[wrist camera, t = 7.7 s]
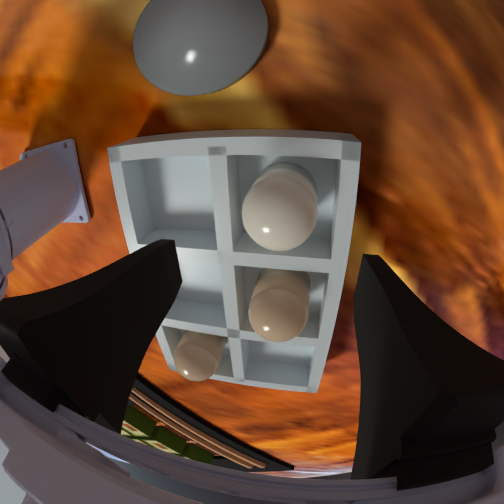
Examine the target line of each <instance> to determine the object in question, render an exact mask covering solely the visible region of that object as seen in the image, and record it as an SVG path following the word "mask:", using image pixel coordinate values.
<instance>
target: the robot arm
mask: <svg viewBox="0 0 504 504" xmlns="http://www.w3.org/2000/svg"><path fill="white" fill-rule="evenodd" d="M66 144H67V145H66ZM82 217H83V218H82ZM90 220H91V217H90V213H89V209H88V205H87V201H86V196H85V192H84V188H83V183H82V178H81V174H80V168H79V163H78V158H77V152H76V146H75V141H74V140H73V139H72V138H70V139H66V140H63V141H59V142H56V143H52V144H49V145H45V146H42V147H39V148H36V149H32V150H29V151H26V152H23V153H21V154H20V161H19V162H17V163H15V164H12V165H10V166H8V167H6V168H4V169H2V170H0V345H1V347H2V348H3V349H4V351H5V352H6V354H7V355H8V356H9V358H11V359H10V360H9V361H8V363H6V362H5V361H4V360H3V359H2V358H1V357H0V440H1V441H2V442H3V443H4V445H5V446H6V447H7V448H8V449H9V452H8V454H7V456H6V458H5V460H4V462H3V464H2V465H3V467H4V470H5V472H6V473H7V474H8V475H9V476H10V477H11V479H12V480H13V481H14V482H15V483H16V484H17V485H18V486H19V487H20V488H22V489H23V490H24V491H25V492H26V496H25V498H24V500H23V502H22V504H204V503H201V502H197V501H194V500H191V499H188V498H184V497H181V496H178V495H175V494H172V493H169V492H167V491H164V490H161V489H159V488H156V487H153V486H151V485H148V484H146V483H143V482H141V481H138V480H136V479H134V478H131V477H129V476H130V473H129V472H128V471H126V470H124V469H123V468H121V467H120V466H118V465H116V464H115V463H114V462H112V461H111V460H109V459H108V458H107V457H105V456H104V455H103V454H102V453H101V452H100V451H98V450H96V449H95V448H93V447H91V446H90V445H88V444H86V442H88V443H90V444H92V445H94V446H95V447H97V448H99V449H101V450H103V451H105V452H107V453H109V454H111V455H114V456H116V457H118V458H120V459H122V460H124V461H127V462H129V463H131V464H134V465H136V466H139V467H141V468H144V469H146V470H149V471H151V472H154V473H157V474H159V475H162V476H165V477H168V478H171V479H174V480H177V481H180V482H183V483H187V484H190V485H194V486H197V487H201V488H205V489H210V490H213V491H217V492H221V493H226V494H231V495H236V496H241V497H247V498H253V499H259V500H267V501H275V502H284V503H296V504H504V445H502V446H499V447H498V448H496V449H494V450H492V445H491V442H493V441H494V440H495V439H496V433H495V428H496V427H497V426H498V425H499V424H501V423H502V422H503V421H504V360H502V359H500V358H498V357H496V356H494V355H492V354H491V353H489V352H487V351H486V350H484V349H482V348H481V347H479V346H477V345H476V344H474V343H473V342H471V341H470V340H468V339H467V338H465V337H464V336H463V335H461V334H460V333H459V332H457V331H456V330H455V329H453V328H452V327H451V326H449V325H448V324H447V323H446V322H444V321H443V320H442V319H441V318H440V317H439V316H437V315H436V314H435V313H434V312H433V311H432V310H431V309H430V308H428V307H427V306H426V305H425V304H424V303H423V302H422V301H421V300H420V299H419V298H418V297H417V296H416V295H415V294H414V293H413V292H412V291H411V290H410V289H409V288H408V286H407V285H406V284H405V283H404V282H403V281H402V280H401V279H400V278H399V277H398V276H397V274H396V273H395V272H394V271H393V270H392V269H391V268H390V267H389V265H388V264H387V263H386V262H385V261H384V260H383V259H382V258H381V257H380V256H379V255H369V254H363V256H362V261H361V266H360V271H359V276H358V281H357V285H356V289H355V294H354V324H355V332H356V339H357V347H358V355H359V363H360V374H361V395H360V414H359V427H358V435H357V444H356V451H355V457H354V463H353V468H352V474H351V478H350V480H316V479H300V478H288V477H278V476H270V475H262V474H256V473H250V472H244V471H238V470H233V469H228V468H223V467H219V466H214V465H210V464H206V463H202V462H198V461H195V460H191V459H188V458H184V457H181V456H177V455H174V454H171V453H168V452H165V451H162V450H159V449H156V448H153V447H151V446H148V445H145V444H142V443H140V442H137V441H135V440H132V439H130V438H127V437H125V436H123V435H121V430H122V425H123V421H124V416H125V412H126V408H127V404H128V401H129V397H130V394H131V390H132V387H133V384H134V381H135V379H136V376H137V373H138V370H139V368H140V365H141V363H142V360H143V358H144V355H145V353H146V351H147V349H148V347H149V345H150V343H151V341H152V339H153V337H154V336H155V334H156V332H157V331H158V329H159V327H160V325H161V324H162V322H163V320H164V319H165V317H166V315H167V314H168V312H169V310H170V308H171V307H172V305H173V303H174V301H175V299H176V297H177V294H178V292H179V289H180V287H181V284H182V282H183V281H182V276H181V271H180V266H179V261H178V256H177V251H176V245H175V240H170V239H160V240H157V241H155V242H152V243H150V244H148V245H146V246H144V247H142V248H140V249H138V250H136V251H134V252H133V253H131V254H129V255H127V256H125V257H123V258H121V259H119V260H118V261H116V262H114V263H112V264H110V265H108V266H106V267H104V268H102V269H100V270H98V271H96V272H93V273H91V274H89V275H87V276H84V277H82V278H80V279H77V280H75V281H72V282H69V283H66V284H63V285H60V286H57V287H54V288H51V289H48V290H44V291H40V292H36V293H32V294H27V295H22V296H16V297H9V298H4V299H2V298H3V296H4V294H5V291H6V289H7V286H8V279H7V275H8V274H9V273H10V272H11V271H12V270H13V269H14V267H13V265H12V260H14V259H15V258H16V257H17V256H18V255H20V254H21V253H22V252H23V251H24V250H26V249H27V248H28V247H29V246H31V245H32V244H33V243H34V242H36V241H37V240H38V239H40V238H41V237H42V236H44V235H45V234H46V233H48V232H49V231H50V230H52V229H53V228H54V227H56V226H57V225H59V224H60V223H61V222H74V223H88V222H89V221H90ZM85 441H86V442H85Z"/></svg>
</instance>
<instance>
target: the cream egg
mask: <svg viewBox="0 0 504 504" xmlns="http://www.w3.org/2000/svg"><path fill="white" fill-rule="evenodd" d="M317 216H318V202H317V186H316V183H315V181H314V179H313V177H312V176H311V175H310V174H309V172H307V171H306V170H305V169H304V168H302V167H300V166H299V165H296V164H293V163H287V162H282V163H276V164H273V165H271V166H269V167H267V168H266V169H264V170H263V171H262V172H261V173H260V175H259V176H258V178H257V179H256V181H255V182H254V184H253V185H252V187H251V188H250V190H249V191H248V193H247V194H246V197H245V199H244V201H243V205H242V221H243V224H244V227H245V230H246V231H247V233H248V235H249V236H250V237H251V238H252V239H253V240H254V241H255V242H256V243H257V244H259V245H260V246H262V247H264V248H266V249H269V250H274V251H286V250H290V249H293V248H296V247H298V246H300V245H301V244H303V243H304V242H305V241H306V240H307V239H308V238H309V237H310V235H311V234H312V232H313V230H314V228H315V226H316V222H317Z"/></svg>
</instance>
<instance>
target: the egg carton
mask: <svg viewBox="0 0 504 504" xmlns="http://www.w3.org/2000/svg"><path fill="white" fill-rule="evenodd" d="M107 150H108V157H109V163H110V169H111V174H112V180H113V185H114V190H115V195H116V200H117V204H118V209H119V213H120V218H121V222H122V226H123V230H124V234H125V238H126V242H127V246H128V249H129V253H130V254H131V253H133V252H134V251H136V250H138V249H140V248H142V247H144V246H146V245H148V244H150V243H152V242H155V241H157V240H160V239H170V240H175V245H176V251H177V256H178V261H179V266H180V271H181V276H182V281H183V282H182V284H181V287H180V289H179V292H178V294H177V297H176V299H175V301H174V303H173V305H172V307H171V308H170V310H169V312H168V314H167V315H166V317H165V319H164V320H163V322H162V324H161V325H160V327H159V329H158V331H157V332H156V336H157V339H158V342H159V344H160V347H161V349H162V352H163V354H164V357H165V359H166V362H167V364H168V367H169V369H170V370H174V371H177V369H176V367H175V364H174V353H175V351H176V348H177V346H178V344H179V342H180V340H181V338H182V336H183V334H184V332H185V330H189V331H195V332H200V333H206V334H212V335H219V336H225V337H227V338H228V339H227V343H226V346H225V348H224V351H223V354H222V357H221V360H220V362H219V365H218V368H217V370H216V372H215V373H214V374H213V375H212V376H211V377H210V379H215V380H220V381H225V382H231V383H237V384H243V385H249V386H256V387H263V388H271V389H279V390H289V391H299V392H311V393H317V391H318V388H319V384H320V381H321V377H322V374H323V370H324V366H325V362H326V359H327V355H328V351H329V347H330V343H331V339H332V335H333V330H334V326H335V322H336V317H337V313H338V308H339V303H340V298H341V293H342V288H343V283H344V278H345V272H346V267H347V261H348V255H349V249H350V242H351V236H352V229H353V222H354V214H355V206H356V197H357V188H358V178H359V167H360V155H361V142H360V141H359V140H358V139H357V138H356V137H355V136H354V135H353V134H349V133H338V132H326V131H310V130H286V129H232V130H209V131H193V132H180V133H170V134H160V135H151V136H143V137H136V138H133V139H130V140H127V141H125V142H122V143H119V144H116V145H114V146H111V147H109V148H107ZM282 162H287V163H293V164H296V165H299V166H300V167H302V168H304V169H305V170H306V171H307V172H309V174H310V175H311V176H312V177H313V179H314V181H315V183H316V186H317V202H318V216H317V222H316V226H315V228H314V230H313V232H312V234H311V235H310V237H309V238H308V239H307V240H306V241H305V242H304V243H303V244H301V245H300V246H298V247H296V248H293V249H290V250H286V251H274V250H269V249H266V248H264V247H262V246H260V245H259V244H257V243H256V242H255V241H254V240H253V239H252V238H251V237H250V236H249V235H248V233H247V231H246V230H245V227H244V224H243V221H242V205H243V201H244V199H245V197H246V194H247V193H248V191H249V190H250V188H251V187H252V185H253V184H254V182H255V181H256V179H257V178H258V176H259V175H260V173H261V172H262V171H263V170H264V169H266V168H267V167H269V166H271V165H273V164H276V163H282ZM263 268H272V269H284V270H296V271H306V272H307V274H308V275H309V278H310V282H311V286H310V302H309V315H308V320H307V323H306V325H305V327H304V329H303V330H302V331H301V332H300V334H299V335H297V336H296V337H295V338H293V339H291V340H288V341H285V342H271V341H268V340H266V339H264V338H262V337H260V336H259V335H258V334H257V333H256V332H255V331H254V329H253V328H252V326H251V324H250V321H249V316H248V309H249V304H250V301H251V298H252V294H253V291H254V288H255V285H256V282H257V279H258V275H259V273H260V271H261V270H262V269H263Z"/></svg>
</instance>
